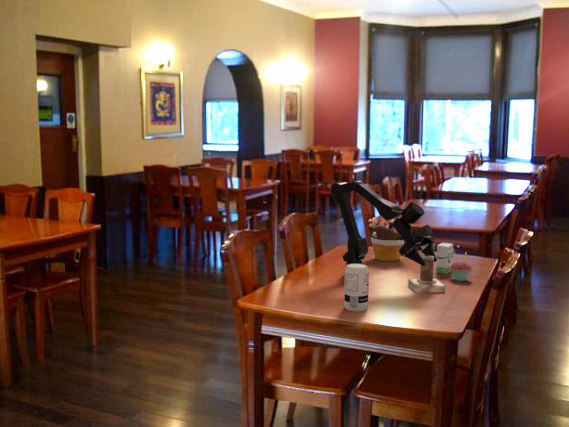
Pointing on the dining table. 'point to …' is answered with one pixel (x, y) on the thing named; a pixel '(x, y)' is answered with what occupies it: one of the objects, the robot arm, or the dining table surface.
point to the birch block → (426, 286)
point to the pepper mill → (427, 270)
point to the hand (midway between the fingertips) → (430, 263)
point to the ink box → (444, 258)
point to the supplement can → (356, 287)
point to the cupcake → (460, 270)
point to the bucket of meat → (385, 242)
